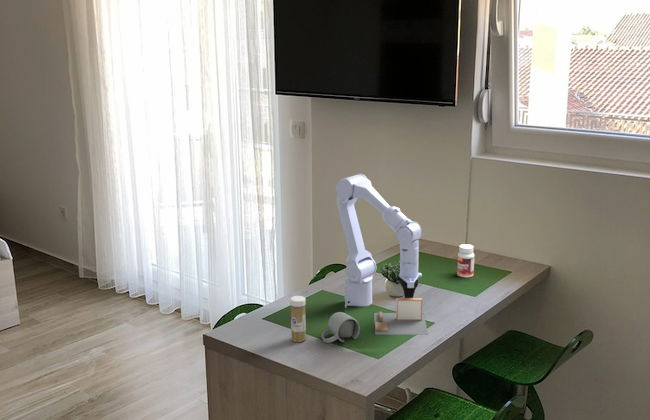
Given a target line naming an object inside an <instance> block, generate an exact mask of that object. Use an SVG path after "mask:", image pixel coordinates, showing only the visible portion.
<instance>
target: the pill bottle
mask: <svg viewBox="0 0 650 420" xmlns="http://www.w3.org/2000/svg"><path fill="white" fill-rule="evenodd" d="M458 249H459V251H458V253H457V264H456V267H457V268H456V274H457V276H458V277H461V278H471V277H473V276H474V274H475V273H474V272H475V269H474V268H475V253H474V251H475V250H474V245H472V244H466V243H465V244H464V243H463V244H460V245H459V248H458Z"/></svg>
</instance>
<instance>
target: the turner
mask: <svg viewBox="0 0 650 420" xmlns="http://www.w3.org/2000/svg"><path fill="white" fill-rule="evenodd" d="M377 313H378V315H379V322H375V323H374V330H375V329H376V331H387V322H383V318H382V313H383V311H378V312H377Z"/></svg>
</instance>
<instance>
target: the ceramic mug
mask: <svg viewBox="0 0 650 420" xmlns="http://www.w3.org/2000/svg"><path fill="white" fill-rule="evenodd" d="M327 325H328V326H327V329H325V330H324V331H323V332H322V334H321V340H322V341H323V342H324V343H326V344H330V343H333V342H335V341H337V340H339V341H340V342H342V343H344V344H346V338H351V337H352V339H353V340H356V339H357V338H358V336H359V334H360V330H361V327H360V324H359V320H357V319H355V318H354V317H352V316H350V315H349V314H347V313H345V312H342V311H338V312H335V313H333V314H331V316H330V317H329V319H328V322H327ZM330 333H331V334H332V336H331V337H327V338H326V336H327V335H329V334H330Z"/></svg>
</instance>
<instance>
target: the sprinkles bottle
mask: <svg viewBox="0 0 650 420" xmlns="http://www.w3.org/2000/svg"><path fill="white" fill-rule="evenodd" d="M289 305H290V319H291V320H290V329H291V337H290V339H291V341H293V342H295V343H302V342H304V341H306V340H307V335H306V333H307V332H306V330H307V328H306V327H307V325H306V318H307V317H306V297H305V296H302V295H293V296H292V297H290V299H289Z"/></svg>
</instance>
